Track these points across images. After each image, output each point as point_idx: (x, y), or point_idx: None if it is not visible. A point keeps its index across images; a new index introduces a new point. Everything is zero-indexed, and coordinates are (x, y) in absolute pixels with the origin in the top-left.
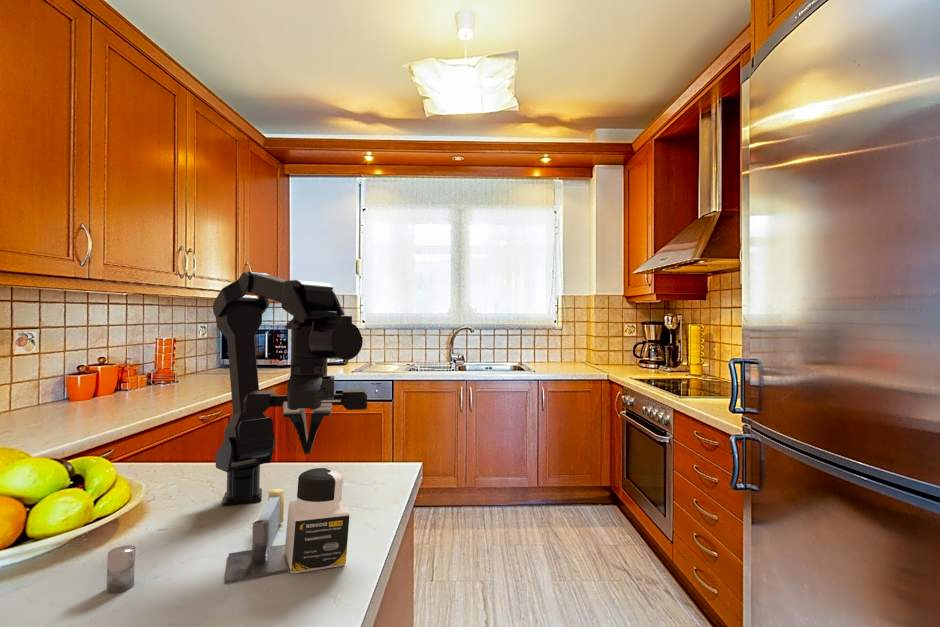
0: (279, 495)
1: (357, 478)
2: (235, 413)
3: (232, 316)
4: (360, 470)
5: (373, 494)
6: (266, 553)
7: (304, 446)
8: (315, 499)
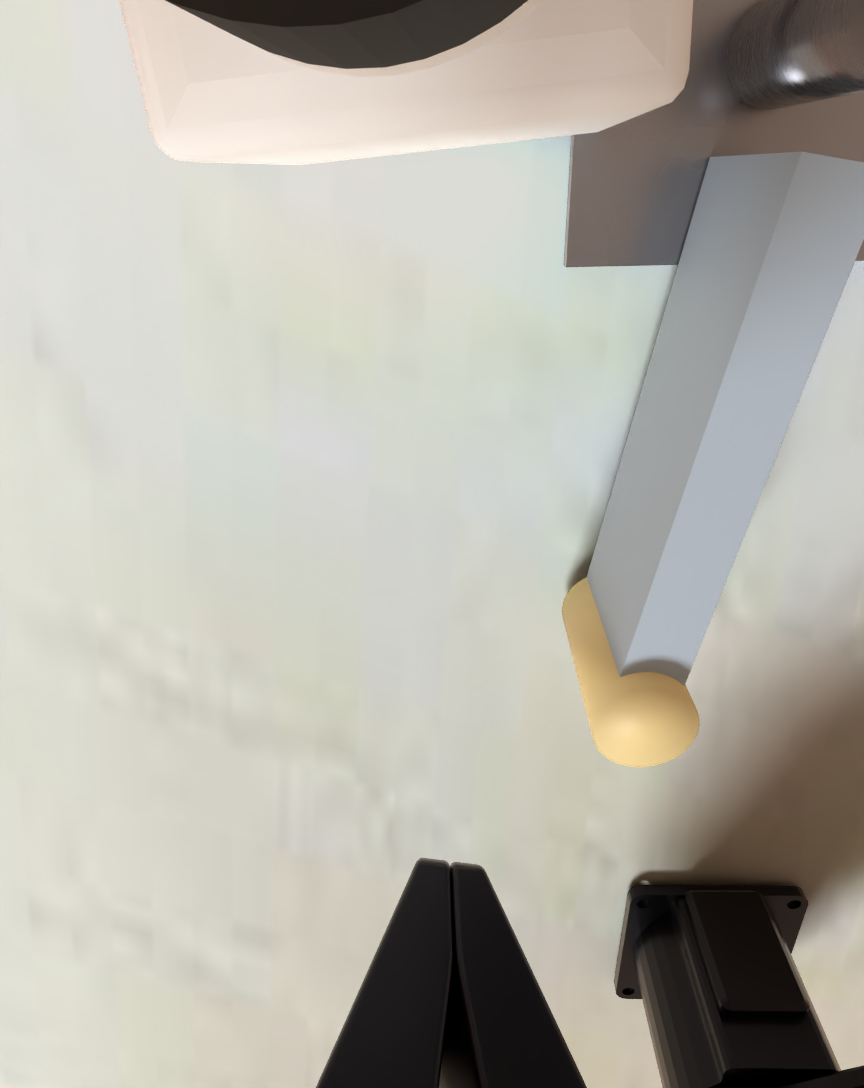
0: (626, 676)
1: (167, 995)
2: None
3: None
4: (155, 1067)
5: (77, 807)
6: (761, 7)
7: (491, 950)
8: None
